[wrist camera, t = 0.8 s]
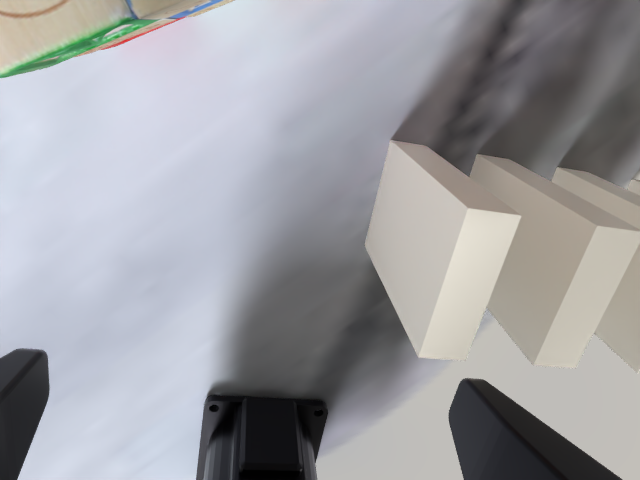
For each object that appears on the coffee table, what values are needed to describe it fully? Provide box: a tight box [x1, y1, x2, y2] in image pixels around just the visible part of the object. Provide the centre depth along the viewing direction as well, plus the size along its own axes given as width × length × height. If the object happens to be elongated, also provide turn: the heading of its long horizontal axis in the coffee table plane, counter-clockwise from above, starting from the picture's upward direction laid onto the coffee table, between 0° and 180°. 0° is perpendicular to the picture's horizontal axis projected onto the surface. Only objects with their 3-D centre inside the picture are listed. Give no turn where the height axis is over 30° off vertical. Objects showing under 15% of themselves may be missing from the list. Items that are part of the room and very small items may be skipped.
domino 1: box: [364, 140, 522, 361], centre depth 17 cm, size 5×2×8 cm, turn 169°
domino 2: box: [469, 154, 640, 368], centre depth 18 cm, size 5×2×8 cm, turn 169°
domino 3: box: [551, 167, 640, 373], centre depth 19 cm, size 5×2×8 cm, turn 169°
